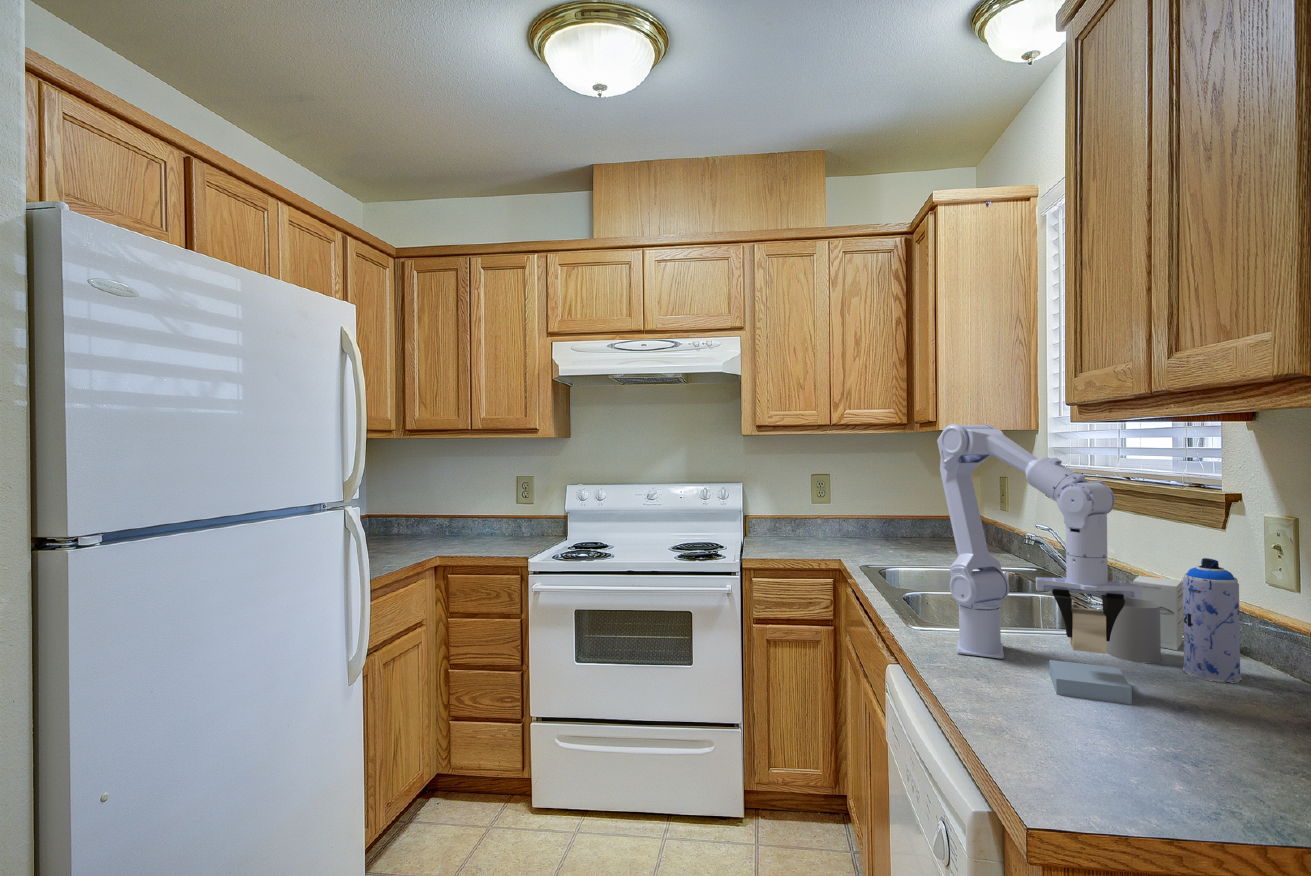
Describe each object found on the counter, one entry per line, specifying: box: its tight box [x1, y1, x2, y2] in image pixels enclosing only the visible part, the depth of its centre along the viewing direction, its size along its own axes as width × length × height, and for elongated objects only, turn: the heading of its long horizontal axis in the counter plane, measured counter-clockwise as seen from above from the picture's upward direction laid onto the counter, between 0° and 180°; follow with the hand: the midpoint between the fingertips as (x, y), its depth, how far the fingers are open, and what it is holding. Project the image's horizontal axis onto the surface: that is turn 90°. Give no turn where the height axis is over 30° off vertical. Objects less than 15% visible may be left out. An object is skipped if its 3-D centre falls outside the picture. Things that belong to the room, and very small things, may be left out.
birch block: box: [1069, 606, 1108, 655], centre depth 109 cm, size 4×4×6 cm
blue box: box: [1048, 659, 1133, 705], centre depth 109 cm, size 10×10×3 cm
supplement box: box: [1132, 575, 1184, 651], centre depth 133 cm, size 7×7×13 cm
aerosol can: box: [1182, 557, 1243, 683], centre depth 115 cm, size 8×8×20 cm
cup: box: [1106, 597, 1162, 663], centre depth 125 cm, size 8×8×10 cm
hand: (1087, 637), depth 109 cm, fingers closed on birch block, 4 cm apart
